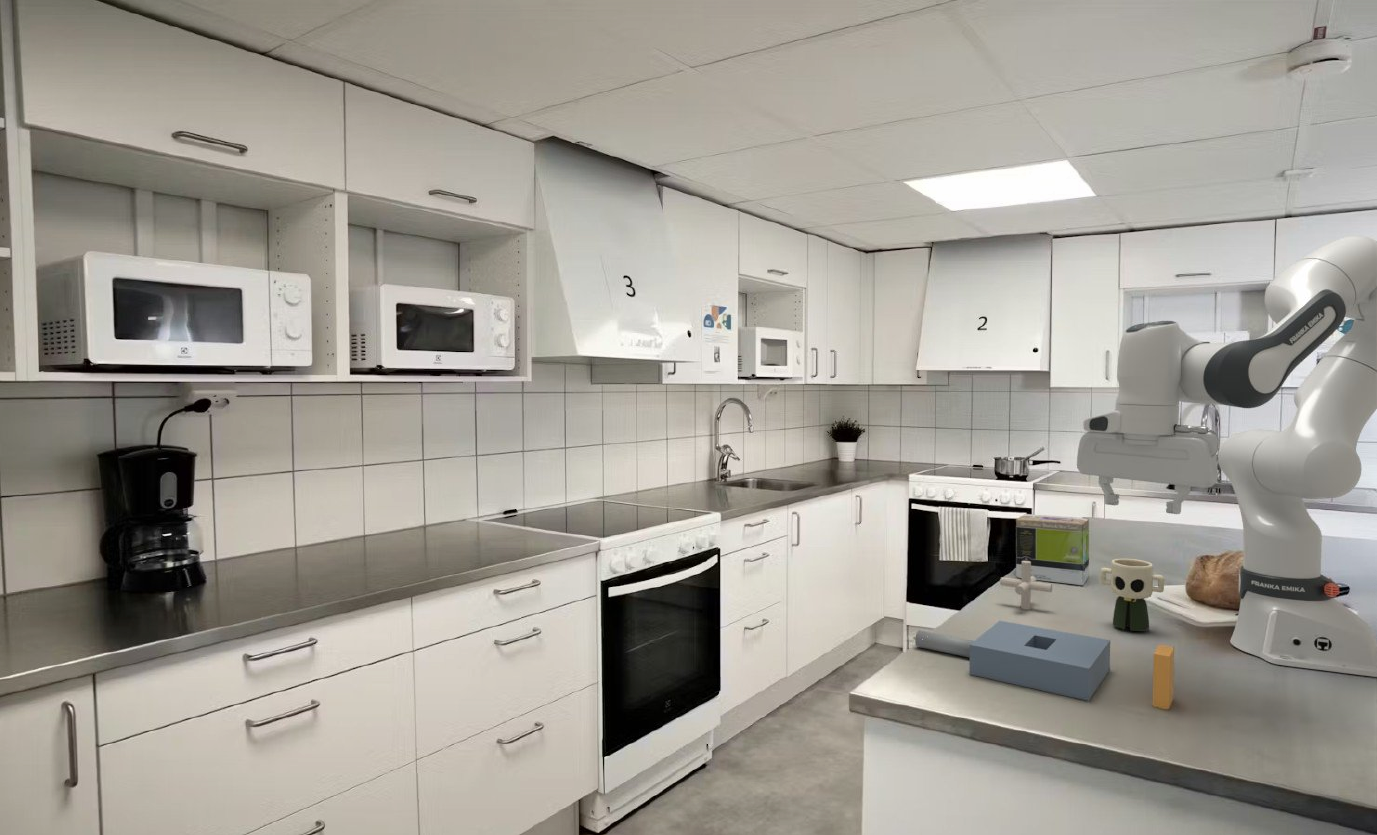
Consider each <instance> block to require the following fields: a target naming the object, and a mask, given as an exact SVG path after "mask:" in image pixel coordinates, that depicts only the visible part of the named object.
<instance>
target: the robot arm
mask: <svg viewBox="0 0 1377 835" xmlns="http://www.w3.org/2000/svg"><path fill="white" fill-rule="evenodd" d="M1264 306H1265V310H1266V312H1267V314H1268V315H1269V317H1270V318H1271V320H1272V321H1273V322H1274V323H1275V325H1274V326H1273V327H1272V328H1270V329H1269V330H1268V331H1267V332H1265V334H1263V335H1262V336H1259V337H1256V338H1253V339H1247V340H1239V341H1238V340H1237V341H1231V342H1228V341H1227V342H1211V343H1210V342H1209V343H1208V342H1207V343H1205V342H1203V341H1202V340H1198V339H1196V338H1194V337H1192V336H1191V335H1189V334H1187V332H1185V331H1183V330H1182V329H1181V328H1180V325H1179V324H1178V322H1176V321H1174V320H1158V321H1153V322H1152V321H1151V322H1144V323H1138V324H1135V325H1134V324H1133V325H1132V326H1130V327H1128V328H1127V329H1126V330H1125V331H1124V332H1123V335H1122V337H1121V340H1120V343H1119V349H1118V358H1117V369H1116V379H1117V382H1118V394H1117V397H1116V400H1115V407H1114V408H1115V410H1114V411H1110V412H1107V413H1103V414H1100V415H1099V414H1098V415H1095V416H1091V417H1086V418H1085V419H1083V425H1082V426H1083V430H1085V431H1086V432H1085V433H1083V434H1082V436H1081V437H1080V440H1079V443H1078V448H1077V456H1076V468H1077V470H1078V472H1079V473H1080V474H1082V475H1086V476H1095V477H1098V485H1099V487H1100V489H1101V490H1102V492H1103V493H1104V504H1105V505H1107V506H1108V505H1109V506H1118V505H1119V504H1120V500H1119V499H1120V494H1119V493H1115V492H1114V488H1113V487H1112V485H1111V484H1113V483H1114V479H1121V480H1131V481H1138V482H1147V483H1156V484H1167V485H1174V492H1175V493H1177V495H1176V496H1175V497H1174V498H1173V500H1169V501H1166V502H1165V505H1166V508H1165V511H1166V514H1171V515H1172V514H1173V515H1180V514H1181V512H1182V503H1184V501H1185V499H1186V498H1187V497H1188V496H1189V494H1191V488H1201V489H1204V488H1205V489H1207V488H1211V487H1213V486H1214V485H1215V484H1216V483H1218V479H1219V477H1218V476H1219V471H1218V470H1219V468H1220V469H1221V471H1222V473H1223V474H1224V476H1226V478H1227V479H1228V480H1229V482H1230V485H1231V486H1232V488H1233V492H1234V494H1235V497H1236V501H1237V503H1238V504H1237V505H1238V508H1239V511H1240V515H1241V522H1242V527H1243V528H1242V531H1243V532H1242V534H1243V536H1242V538H1243V539H1242V540H1243V548H1242V549H1243V554H1242V556H1243V559H1242V565H1241V567H1240V568H1239V571H1240V572H1239V573H1238V574H1239V575H1238V594H1239V597H1240V604H1239V610H1238V615H1237V619H1236V623H1235V627H1234V631H1233V633H1232V636H1231V638H1230V640H1229V641H1230V644H1231V645H1232V646H1233V647H1235V648H1236V649H1237V650H1241V651H1242V652H1245V653H1248V654H1251V655H1253V656H1256V657H1259V658H1261V659H1263V660H1264V661H1266V662H1269V663H1271V664H1273V665H1281V666H1287V667H1294V668H1303V669H1311V670H1319V671H1327V672H1333V673H1334V672H1335V673H1342V674H1348V675H1349V674H1350V675H1358V676H1367V677H1372V678H1373V677H1374V678H1377V639H1376V635H1375V632H1374V631H1373V629H1372V627H1371V626H1370V625H1369V623H1368V622H1367V621H1365V620H1364V619H1363V618H1362V617H1360V616H1359V615H1357V614H1356V613H1355V612H1353V611H1352V610H1350V608H1348V607H1347V606H1345V605H1344V604H1342V603H1341V602H1340V601H1338V600H1337V599H1336V598H1335V597H1337V595H1338V596H1339V595H1340V588H1339V585H1337V584H1336V582H1335V581H1334V580H1333V579H1332V578H1331V577H1329V578H1328V577H1327V576H1326V575H1323V574H1321V572H1322V570H1321V569H1322V541H1323V535H1322V531H1321V529H1320V526H1319V525H1318V524H1317V523H1316V522H1315V520H1313V518H1312V516H1310V515H1311V514H1309V512H1308V510H1307V507H1306V505H1305V501H1304V500H1305V499H1306V500H1323V499H1325V500H1326V499H1334V498H1341V497H1343V496H1345V495H1347V494H1349V493H1350V492H1352V490H1353V489H1354V488H1355V487H1356V486H1357V485H1358V483H1359V481H1360V479H1361V475H1362V462H1361V459H1360V456H1359V454H1358V453H1357V446H1358V443H1359V442H1358V441H1359V439H1360V435H1361V434H1362V430H1363V429H1364V427H1365V425H1366V424H1367V422H1368V421H1369V419H1371V417H1372V416H1373V414H1374V413H1375V412H1376V410H1377V240H1375V239H1373V238H1371V237H1367V236H1364V235H1349V236H1345V237H1342V238H1338V239H1336V240H1334V241H1332V242H1331V241H1330V242H1329V243H1327V244H1325V245H1323V246H1320V247H1319V248H1316V249H1315V250H1312V251H1311V252H1310V253H1308V254H1307V255H1304V256H1303V257H1302V258H1300V259H1298V260H1296V261H1295V262H1294V263H1293V264H1291V265H1289V266H1288V267H1287V268H1285V269H1284V270H1282V271H1281V272H1280V273H1278V275H1277V276H1275V278H1274V279H1273V280H1272V281H1271V282H1270V283H1269V284H1268V285H1267V287H1266V288H1265V292H1264ZM1345 318H1348V319H1352V320H1353V323H1352V326H1351V329H1349V330H1348V331H1347V332H1346V333H1345V334H1343V335H1342V336H1341V338H1339V340H1337V341H1336V342H1335V343H1334V344H1333V345H1332V346H1331V347H1330V348H1329V350H1328V351H1327V352H1326V353H1325V354H1324V355H1323V357H1322V358H1321V359H1320V360H1319V362H1318V363H1316V365H1315V367H1314V368H1313V369H1312V370H1311V372H1310V373H1309V374H1308V375H1307V376H1306V378H1304V380H1303V381H1302V383H1301V384H1300V385H1299V386H1298V388H1297V389H1296V390H1295V391H1294V395H1293V402H1294V405H1295V407H1296V409H1297V410H1296V413H1295V415H1294V418H1293V420H1292V422H1291V423H1290V425H1289V426H1288V427H1287V428H1286V429H1284V430H1273V429H1271V430H1270V429H1262V428H1261V429H1260V428H1259V429H1250V430H1245V431H1240V432H1237V433H1234V434H1231V435H1230V436H1228V437H1227V438H1225V440H1224V441H1223V442H1222V443H1221V445H1220V442H1219V441H1220V440H1219V439H1220V438H1219V436H1218V434H1217V433H1216V432H1215V431H1214V430H1212V429H1210V428H1209V427H1208V426H1204V425H1199V426H1192V425H1184V424H1179V421H1180V416H1179V415H1180V402H1183V403H1187V404H1188V403H1191V404H1201V405H1220V406H1221V405H1222V406H1228V407H1235V408H1242V409H1253V408H1254V409H1256V408H1259V407H1261V406H1264V405H1265V404H1266V403H1267V404H1268V402H1269V401H1271V400H1272V399H1273V398H1274V397H1275V396H1276V395H1277V394H1278V392H1279V391H1280V390H1281V388H1282V386H1283V385H1284V384H1285V382H1286V380H1287V379H1288V378H1289V376H1290V374H1291V373H1292V372H1293V371H1295V369H1296V368H1297V367H1298V366H1299V365H1300V364H1301V363H1302V362H1304V360H1305V359H1306V358H1308V357H1309V356H1310V355H1311V354H1312V353H1313V352H1314V351H1316V349H1318V348H1319V347H1320V346H1321V345H1322V344H1323V343H1324V342H1325V341H1326V340H1328V339H1329V337H1331V335H1333V334H1334V332H1336V331H1337V329H1339V327H1340V326H1341V325H1342V324H1343V321H1344V320H1345ZM1219 445H1220V447H1219ZM1217 453H1218V454H1217ZM1218 466H1219V468H1218Z"/></svg>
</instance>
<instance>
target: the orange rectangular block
mask: <svg viewBox="0 0 1377 835" xmlns="http://www.w3.org/2000/svg"><path fill="white" fill-rule="evenodd" d="M1174 661H1175V647H1174V646H1168V645H1165V644H1158V646H1157V648H1156V649H1155V651H1154V653H1153V674H1152V675H1153V676H1152V677H1153V678H1152V679H1153V682H1152V684H1153V685H1152V707H1153V706H1154V708H1157V707H1158V709H1162V708H1163V710H1167V709H1170V707H1171V704H1172V703H1171V702H1173V700H1174V670H1175V667H1174V665H1175V662H1174Z"/></svg>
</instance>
